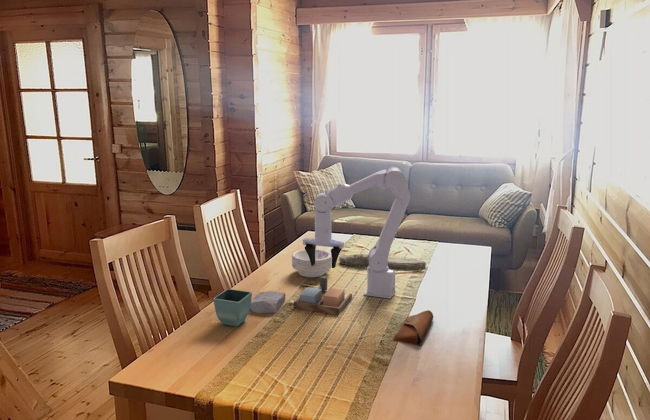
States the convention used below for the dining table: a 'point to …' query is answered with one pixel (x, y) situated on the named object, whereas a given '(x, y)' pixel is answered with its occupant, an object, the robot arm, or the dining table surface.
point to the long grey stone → (395, 262)
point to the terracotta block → (334, 297)
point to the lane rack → (322, 306)
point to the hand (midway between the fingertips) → (323, 266)
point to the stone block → (267, 302)
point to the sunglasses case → (414, 328)
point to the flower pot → (232, 306)
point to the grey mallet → (314, 292)
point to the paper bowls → (304, 265)
